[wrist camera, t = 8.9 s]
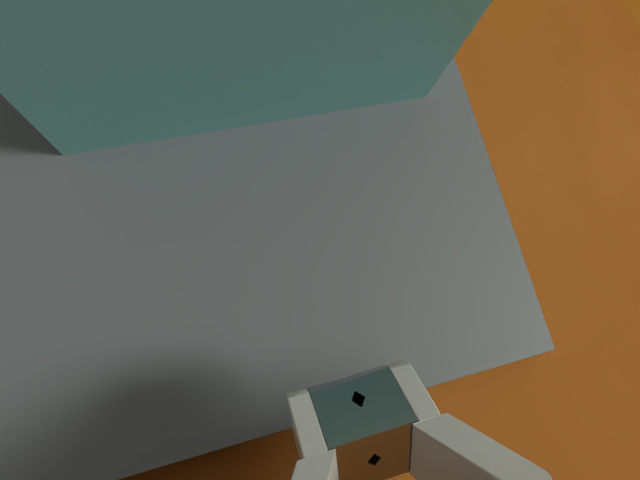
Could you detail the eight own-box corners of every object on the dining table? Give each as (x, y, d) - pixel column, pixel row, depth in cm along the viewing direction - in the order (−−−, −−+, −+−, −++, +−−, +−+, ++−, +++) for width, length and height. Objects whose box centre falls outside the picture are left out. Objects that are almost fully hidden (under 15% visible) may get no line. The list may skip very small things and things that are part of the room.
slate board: (-87, 533, 14) (-119, 550, 13) (-135, -158, 19) (-161, -191, 18) (535, 349, 18) (555, 349, 17) (358, -176, 23) (364, -204, 22)
